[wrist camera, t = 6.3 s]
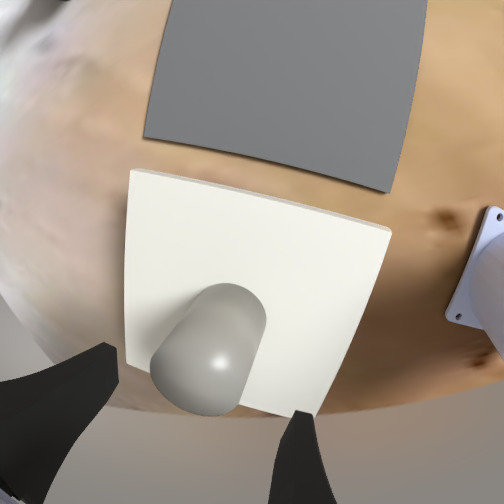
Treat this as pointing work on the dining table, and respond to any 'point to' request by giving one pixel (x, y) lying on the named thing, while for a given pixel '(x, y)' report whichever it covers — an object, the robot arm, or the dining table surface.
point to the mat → (292, 82)
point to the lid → (241, 293)
